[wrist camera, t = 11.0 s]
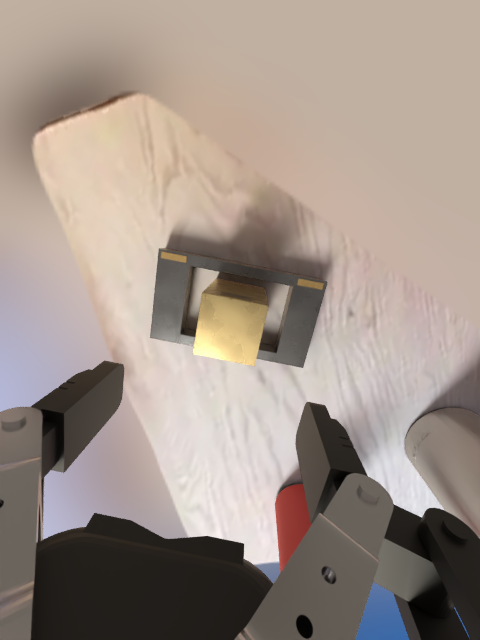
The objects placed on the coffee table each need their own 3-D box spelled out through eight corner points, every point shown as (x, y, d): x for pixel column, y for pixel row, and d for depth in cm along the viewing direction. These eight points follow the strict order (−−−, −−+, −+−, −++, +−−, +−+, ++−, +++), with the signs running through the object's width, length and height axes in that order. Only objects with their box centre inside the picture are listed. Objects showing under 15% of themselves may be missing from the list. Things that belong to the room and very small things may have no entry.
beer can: (273, 517, 36) (282, 646, 25) (275, 479, 34) (286, 599, 23) (323, 520, 36) (355, 652, 24) (327, 481, 34) (365, 604, 22)
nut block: (264, 287, 27) (268, 305, 20) (254, 333, 29) (254, 366, 21) (216, 277, 27) (202, 291, 20) (208, 324, 29) (192, 354, 21)
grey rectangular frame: (322, 279, 27) (327, 282, 25) (299, 359, 29) (303, 368, 27) (165, 248, 27) (158, 248, 25) (156, 331, 29) (149, 338, 27)
